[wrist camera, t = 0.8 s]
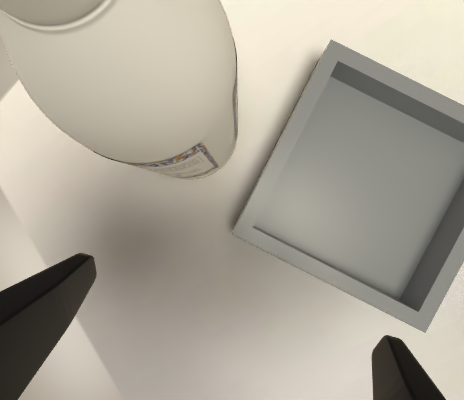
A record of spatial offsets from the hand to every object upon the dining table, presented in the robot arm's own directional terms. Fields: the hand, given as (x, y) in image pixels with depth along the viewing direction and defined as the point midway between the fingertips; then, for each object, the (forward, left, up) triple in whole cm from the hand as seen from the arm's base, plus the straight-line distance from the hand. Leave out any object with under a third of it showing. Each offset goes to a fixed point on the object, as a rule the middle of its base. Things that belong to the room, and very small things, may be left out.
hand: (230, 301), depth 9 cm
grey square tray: (+8, -7, -13) cm, 16 cm away
